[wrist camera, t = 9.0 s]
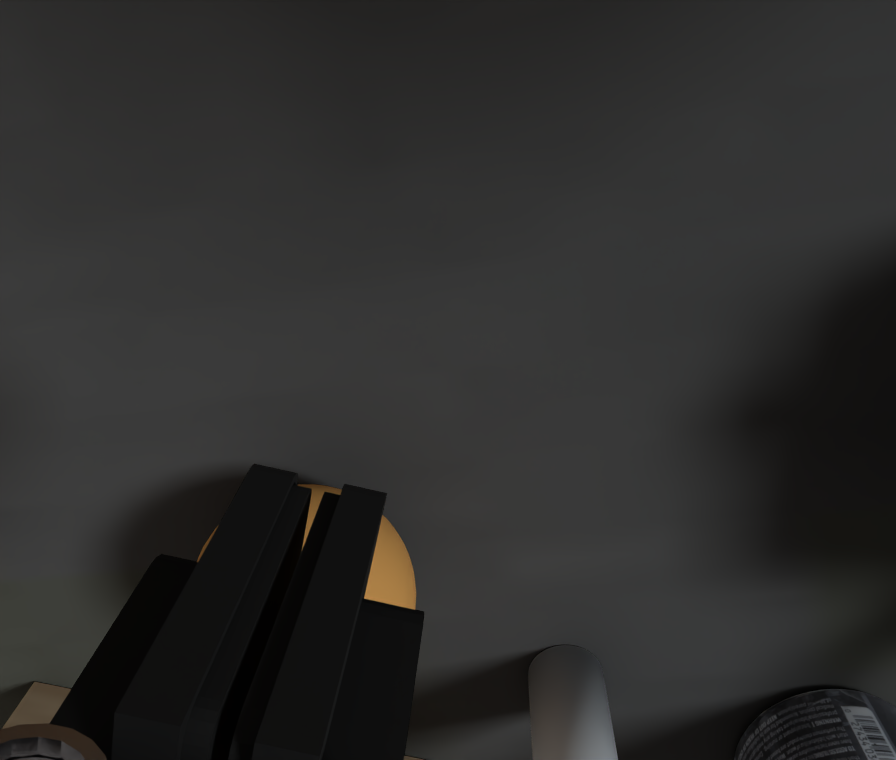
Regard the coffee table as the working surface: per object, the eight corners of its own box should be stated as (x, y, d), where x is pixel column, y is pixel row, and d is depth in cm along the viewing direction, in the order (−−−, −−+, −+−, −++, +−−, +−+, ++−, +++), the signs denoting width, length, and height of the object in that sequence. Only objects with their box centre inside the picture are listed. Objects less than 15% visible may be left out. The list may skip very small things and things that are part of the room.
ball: (139, 733, 21) (218, 578, 27) (369, 792, 22) (402, 627, 27) (163, 552, 19) (246, 419, 24) (426, 621, 19) (450, 475, 24)
